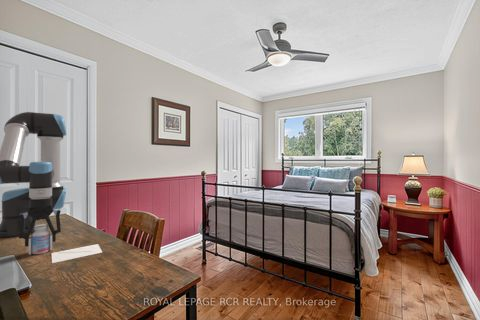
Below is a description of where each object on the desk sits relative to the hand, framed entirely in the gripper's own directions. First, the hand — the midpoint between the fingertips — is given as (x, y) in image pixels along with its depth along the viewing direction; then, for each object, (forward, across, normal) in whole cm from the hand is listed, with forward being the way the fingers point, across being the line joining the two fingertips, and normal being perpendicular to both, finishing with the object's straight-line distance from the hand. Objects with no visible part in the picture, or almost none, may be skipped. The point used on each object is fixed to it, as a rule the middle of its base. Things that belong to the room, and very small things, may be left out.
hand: (40, 251), depth 101 cm
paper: (0, +12, -11) cm, 16 cm away
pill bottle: (+1, 0, 0) cm, 1 cm away
